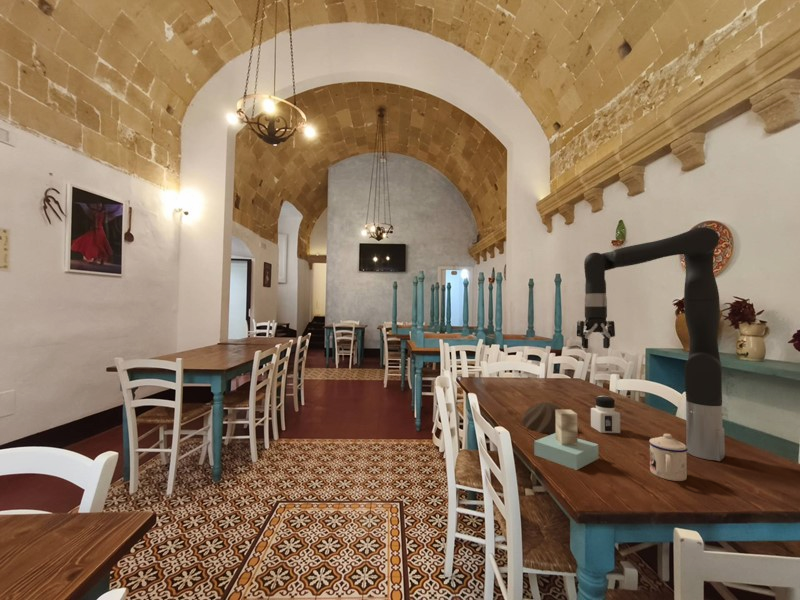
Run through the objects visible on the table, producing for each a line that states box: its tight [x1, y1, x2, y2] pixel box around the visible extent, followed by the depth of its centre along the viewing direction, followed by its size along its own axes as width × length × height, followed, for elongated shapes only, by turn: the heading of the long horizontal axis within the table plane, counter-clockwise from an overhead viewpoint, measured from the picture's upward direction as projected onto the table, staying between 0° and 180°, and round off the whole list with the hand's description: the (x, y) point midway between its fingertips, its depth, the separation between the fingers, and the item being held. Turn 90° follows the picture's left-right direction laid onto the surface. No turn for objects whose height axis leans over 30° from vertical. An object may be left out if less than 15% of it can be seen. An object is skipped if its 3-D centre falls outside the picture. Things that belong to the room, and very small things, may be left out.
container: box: [590, 395, 621, 434], centre depth 146 cm, size 8×8×13 cm
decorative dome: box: [521, 401, 562, 435], centre depth 149 cm, size 19×20×10 cm
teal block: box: [533, 433, 599, 471], centre depth 119 cm, size 14×14×5 cm
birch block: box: [556, 408, 579, 446], centre depth 119 cm, size 5×5×10 cm
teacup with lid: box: [648, 433, 688, 482], centre depth 105 cm, size 12×9×12 cm
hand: (595, 348), depth 139 cm, fingers open, 8 cm apart
